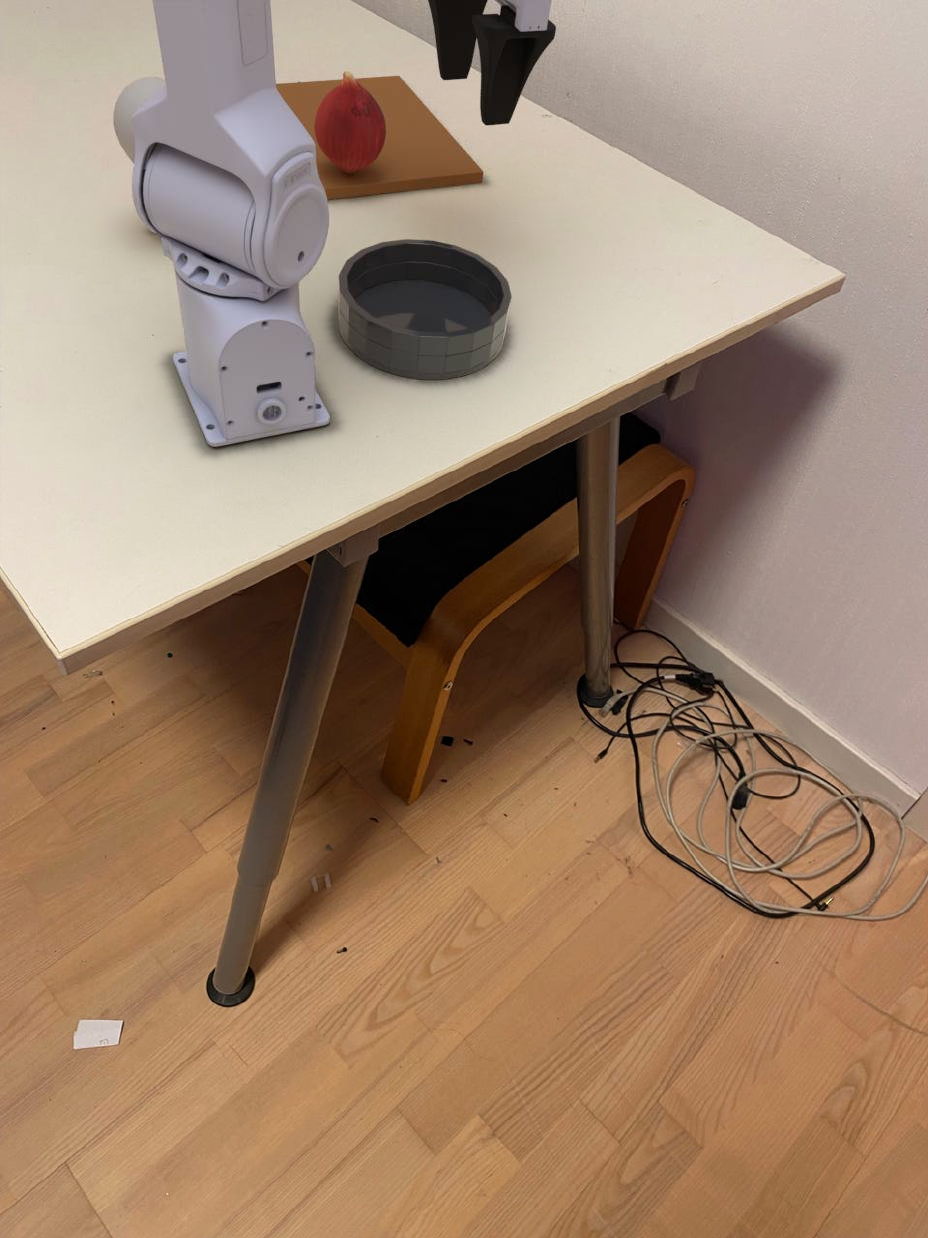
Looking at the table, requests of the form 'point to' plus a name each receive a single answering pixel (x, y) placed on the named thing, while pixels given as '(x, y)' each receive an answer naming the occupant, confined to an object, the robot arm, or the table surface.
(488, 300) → the pan
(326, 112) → the onion
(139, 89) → the lightbulb
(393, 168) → the mat
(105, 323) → the table surface
